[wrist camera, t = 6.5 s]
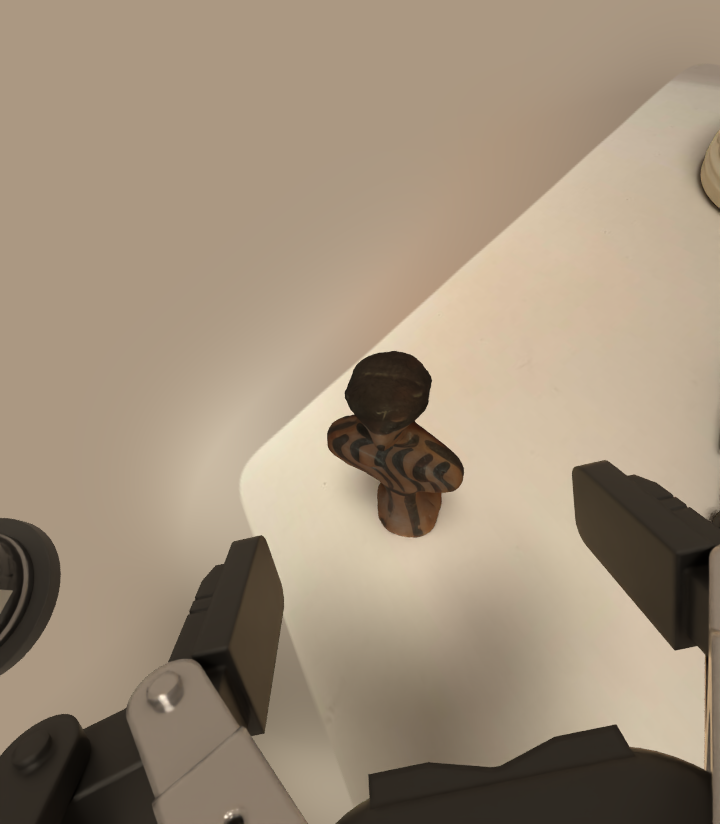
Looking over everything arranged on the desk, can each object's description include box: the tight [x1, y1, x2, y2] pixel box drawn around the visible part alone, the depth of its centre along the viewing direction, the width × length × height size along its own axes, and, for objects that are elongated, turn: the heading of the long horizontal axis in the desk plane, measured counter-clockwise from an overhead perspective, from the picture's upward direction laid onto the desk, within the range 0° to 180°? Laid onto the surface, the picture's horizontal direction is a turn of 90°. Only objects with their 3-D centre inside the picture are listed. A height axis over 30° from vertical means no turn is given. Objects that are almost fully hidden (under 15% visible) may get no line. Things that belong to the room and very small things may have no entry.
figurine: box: [327, 351, 464, 537], centre depth 24 cm, size 7×5×18 cm
